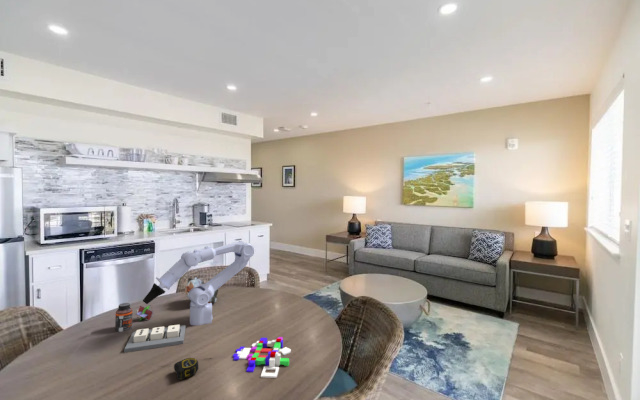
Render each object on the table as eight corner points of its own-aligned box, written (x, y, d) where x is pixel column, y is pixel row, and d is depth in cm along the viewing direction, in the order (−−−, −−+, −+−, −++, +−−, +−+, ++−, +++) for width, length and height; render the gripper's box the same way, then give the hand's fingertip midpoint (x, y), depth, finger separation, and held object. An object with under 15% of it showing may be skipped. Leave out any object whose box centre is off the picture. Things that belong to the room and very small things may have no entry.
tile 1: (164, 335, 118) (164, 325, 118) (162, 342, 113) (162, 332, 113) (153, 336, 117) (153, 327, 117) (150, 343, 111) (150, 333, 111)
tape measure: (173, 372, 96) (173, 360, 96) (195, 365, 100) (196, 354, 100) (176, 383, 90) (177, 371, 90) (200, 376, 94) (200, 364, 94)
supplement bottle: (123, 335, 120) (124, 307, 120) (111, 333, 121) (111, 306, 121) (135, 328, 126) (136, 302, 126) (123, 327, 127) (124, 301, 127)
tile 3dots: (148, 337, 116) (148, 327, 116) (145, 344, 111) (146, 334, 111) (136, 338, 115) (137, 329, 115) (133, 346, 109) (133, 336, 109)
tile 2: (179, 333, 120) (179, 324, 120) (178, 339, 115) (178, 330, 115) (168, 334, 119) (168, 325, 119) (166, 341, 113) (166, 331, 113)
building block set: (243, 339, 119) (243, 328, 119) (294, 341, 119) (294, 330, 119) (221, 377, 94) (222, 363, 94) (285, 380, 94) (286, 366, 94)
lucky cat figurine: (215, 307, 152) (200, 283, 147) (190, 316, 152) (175, 293, 147) (221, 288, 168) (208, 265, 163) (199, 296, 168) (186, 275, 163)
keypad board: (185, 330, 125) (185, 325, 125) (183, 346, 112) (183, 340, 112) (133, 337, 118) (133, 331, 118) (124, 355, 105) (124, 348, 105)
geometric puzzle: (160, 313, 138) (150, 299, 138) (150, 318, 131) (140, 304, 132) (148, 321, 138) (139, 307, 139) (138, 327, 132) (128, 312, 132)
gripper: (165, 269, 130) (139, 294, 123) (165, 268, 117) (135, 296, 111) (178, 279, 131) (152, 305, 124) (179, 279, 118) (150, 308, 112)
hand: (145, 301), depth 118 cm, fingers open, 7 cm apart
